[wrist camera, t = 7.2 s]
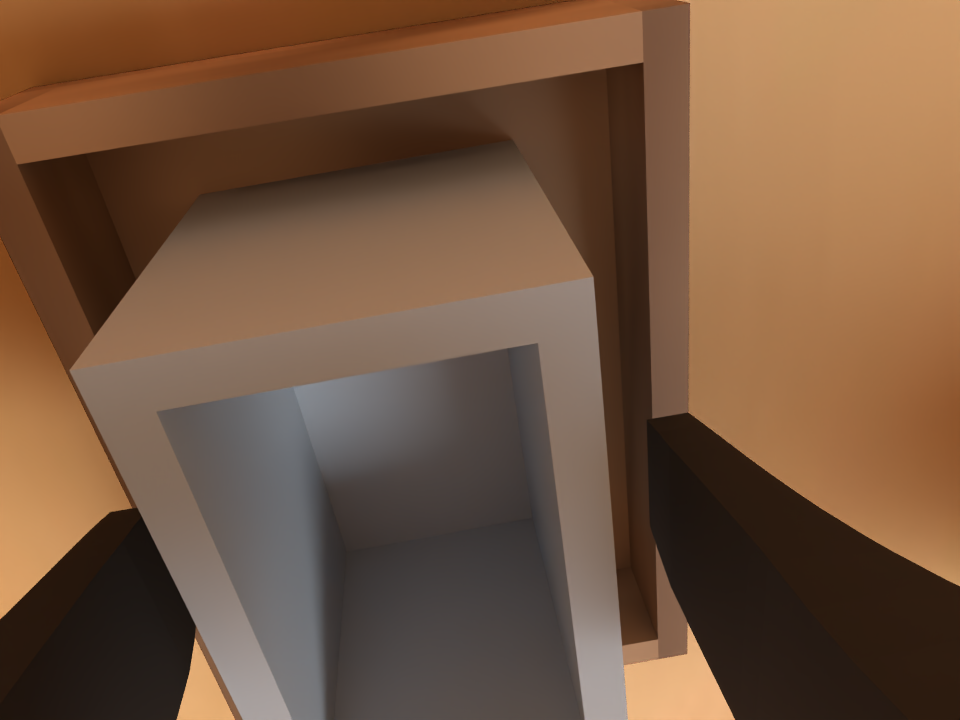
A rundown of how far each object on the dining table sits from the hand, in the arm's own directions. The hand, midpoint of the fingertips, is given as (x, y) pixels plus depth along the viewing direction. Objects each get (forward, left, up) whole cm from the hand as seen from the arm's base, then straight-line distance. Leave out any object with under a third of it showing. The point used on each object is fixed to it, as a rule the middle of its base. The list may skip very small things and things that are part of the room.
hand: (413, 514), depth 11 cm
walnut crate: (0, 0, -4) cm, 4 cm away
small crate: (0, 0, -3) cm, 3 cm away
